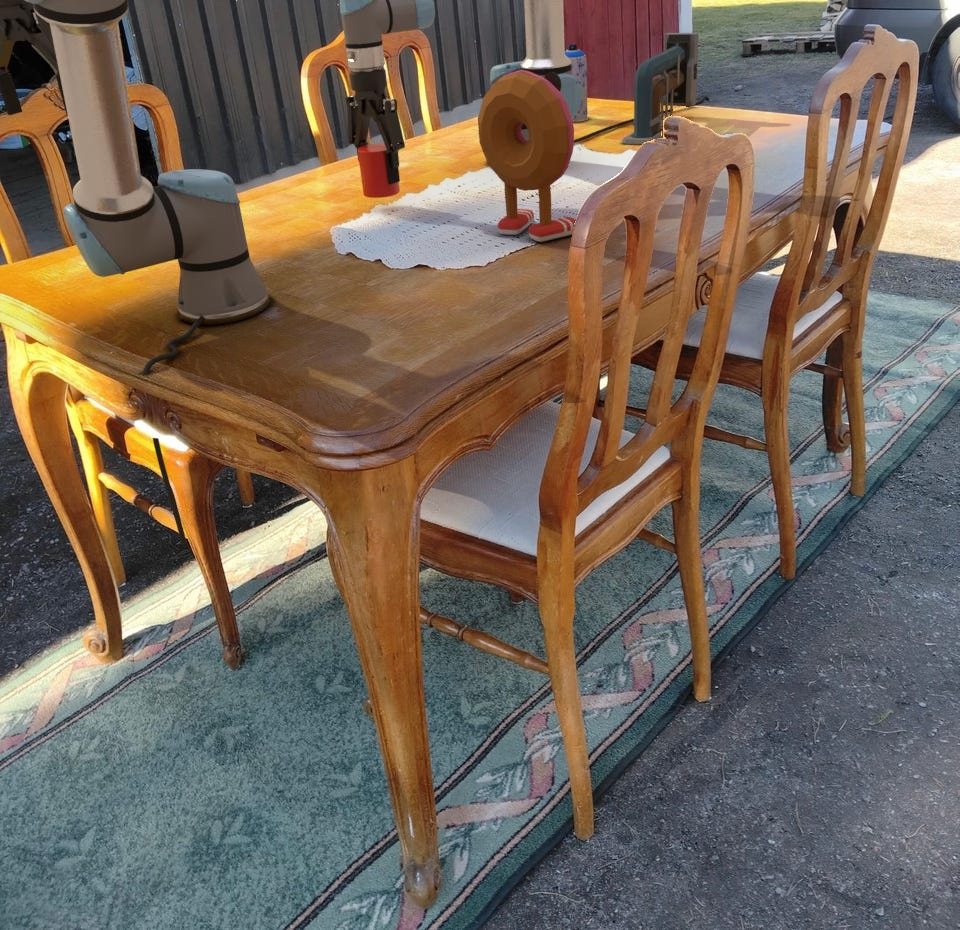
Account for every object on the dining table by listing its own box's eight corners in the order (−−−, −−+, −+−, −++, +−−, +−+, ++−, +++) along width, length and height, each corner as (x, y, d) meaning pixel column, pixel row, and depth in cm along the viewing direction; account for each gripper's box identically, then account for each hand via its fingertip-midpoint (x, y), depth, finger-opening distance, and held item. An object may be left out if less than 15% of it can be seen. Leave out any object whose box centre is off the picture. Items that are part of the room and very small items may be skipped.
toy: (594, 233, 186) (591, 67, 171) (560, 248, 180) (555, 77, 165) (511, 217, 199) (502, 62, 184) (477, 231, 193) (465, 71, 178)
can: (404, 187, 214) (399, 142, 209) (394, 197, 207) (388, 151, 202) (369, 188, 215) (364, 143, 211) (358, 198, 209) (352, 152, 204)
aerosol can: (559, 122, 275) (557, 47, 265) (562, 117, 282) (559, 42, 272) (587, 121, 274) (585, 45, 263) (589, 115, 280) (587, 41, 270)
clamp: (652, 144, 244) (653, 54, 234) (619, 143, 248) (619, 54, 237) (695, 115, 270) (698, 32, 259) (665, 114, 274) (667, 33, 263)
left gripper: (79, -27, 157) (114, 109, 168) (-33, -20, 166) (7, 109, 177) (45, -23, 152) (84, 118, 162) (-69, -15, 161) (-25, 117, 171)
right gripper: (320, 69, 203) (336, 178, 214) (387, 74, 190) (400, 190, 201) (348, 63, 207) (362, 170, 219) (415, 68, 194) (426, 181, 206)
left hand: (44, 113), depth 170 cm, fingers open, 13 cm apart
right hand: (380, 180), depth 210 cm, fingers closed on can, 8 cm apart
